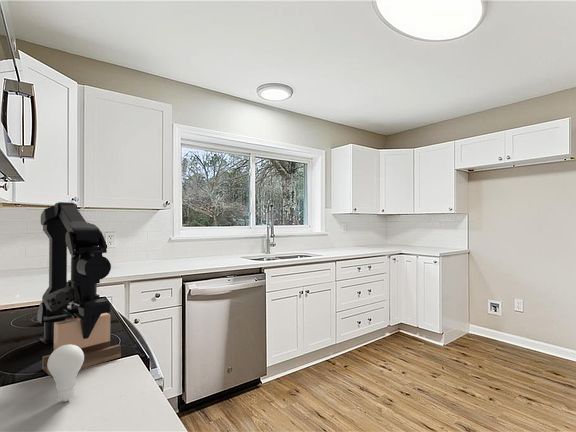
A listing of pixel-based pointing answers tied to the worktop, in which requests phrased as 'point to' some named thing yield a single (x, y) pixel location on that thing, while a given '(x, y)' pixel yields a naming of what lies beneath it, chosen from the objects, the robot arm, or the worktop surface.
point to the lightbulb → (65, 369)
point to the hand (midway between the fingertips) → (83, 337)
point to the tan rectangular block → (72, 332)
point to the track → (92, 355)
